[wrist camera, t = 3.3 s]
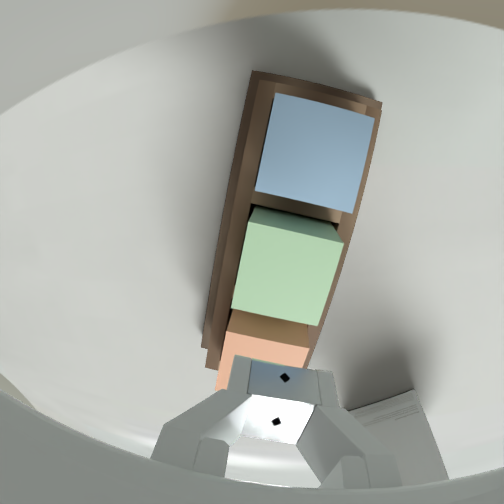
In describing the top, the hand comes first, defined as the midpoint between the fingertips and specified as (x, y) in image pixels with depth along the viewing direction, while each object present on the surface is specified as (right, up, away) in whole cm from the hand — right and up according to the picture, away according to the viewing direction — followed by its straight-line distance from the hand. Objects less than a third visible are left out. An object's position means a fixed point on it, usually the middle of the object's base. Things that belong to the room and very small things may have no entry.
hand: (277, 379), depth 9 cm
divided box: (+2, +6, +17) cm, 18 cm away
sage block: (+1, +4, +12) cm, 13 cm away
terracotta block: (0, -2, +14) cm, 15 cm away
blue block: (+3, +10, +10) cm, 15 cm away
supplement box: (+15, -17, +23) cm, 32 cm away
